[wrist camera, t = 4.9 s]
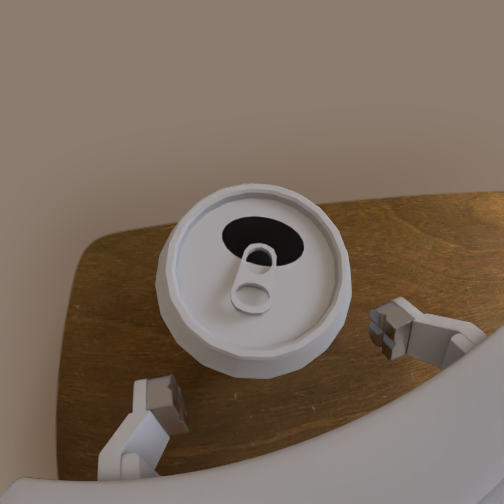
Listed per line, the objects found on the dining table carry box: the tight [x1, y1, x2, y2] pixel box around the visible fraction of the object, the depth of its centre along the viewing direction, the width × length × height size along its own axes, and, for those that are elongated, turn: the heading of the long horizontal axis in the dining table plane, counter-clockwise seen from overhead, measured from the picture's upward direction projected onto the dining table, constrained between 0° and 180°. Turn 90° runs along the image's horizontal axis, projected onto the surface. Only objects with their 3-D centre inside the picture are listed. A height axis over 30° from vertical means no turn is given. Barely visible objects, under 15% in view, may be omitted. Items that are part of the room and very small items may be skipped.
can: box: [155, 183, 352, 379], centre depth 15 cm, size 8×8×12 cm
